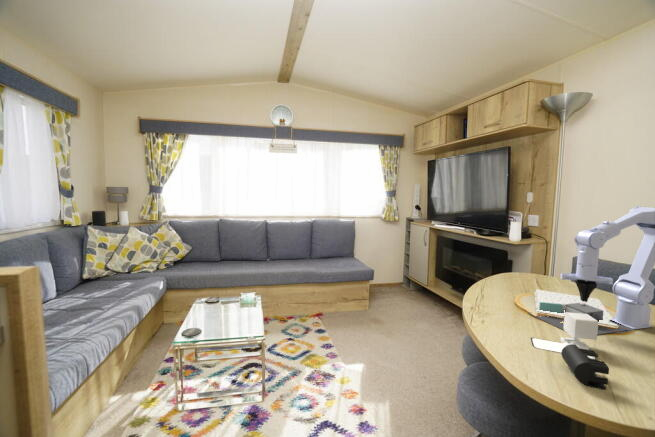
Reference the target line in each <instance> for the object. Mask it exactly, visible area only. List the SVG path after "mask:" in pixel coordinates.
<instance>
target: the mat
mask: <svg viewBox="0 0 655 437" xmlns="http://www.w3.org/2000/svg"><path fill="white" fill-rule="evenodd" d="M530 313H531V312H527V314H528V315H530V316H532V317H535V319H537V320H541V321H543V322H545V323H547V324H549V325H551V326H553V327H555V328H557V329H559V330H562V331H564V329H563V326H564V324H563V323H560V322H562V321H563V322H564V319H561V318H557V317H551V316H549V317H547V316H541V317H540V316H534V315H532V314H530ZM619 325H620V324H619ZM625 330H630V331H632V329H631V328H628V327H626V326H623V325H620V326H619V327H618V328H617V329H610V328H607V327H602V326H598V332H597V336H600V335H607V334H613V333H612V332H616V333H620V332H619V331H623V332H626V331H625ZM564 332H565V331H564Z"/></svg>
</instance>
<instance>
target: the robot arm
mask: <svg viewBox="0 0 655 437" xmlns="http://www.w3.org/2000/svg"><path fill="white" fill-rule="evenodd" d="M633 226H636V227H637V228H638V229H639V230H641V231H642V232H643V234H644V235H643V238H642V241H641V242H640V244H639V247H638V250H637V252H636V254H635V256H634V258H633V260H632V264H631V266H630V268H629V271H628V273H624V274H621V275H620V276H619V277H618V279H617V280H616V281H615V282H614V279H613V278H612V277H608V276H607V277H605V276H600V275H598V268H599V256H600V249H602V248H603V247H604V246H605V244H606V243H607V242H608V241H610V240H612V239H613V238H616V237H617V236H619V235H621V231H622V230H624V229H627V228H629V227H633ZM574 242H575V244H576V249H577V259H576V260H577V261H576V270H575V273H563V272H561V273H560V279H561V280H563V281H564V280H565V281H566V280H568V281H574V283H575V285H576V287H577V289H578V293H579V298H580V301H582V302H583V303H587V302H588V300H589V298H590V296H591V294H592V293H593V291H594V290H595V289H596V288H598V284H606V285H611V286H612V292H613V294H614V295H615V299H617V302H616V304H617V305H616V311H615V317H614V318H612V319H613V320H614V321H615V322H617V323H616V324H618V323H619V324H618V325H620V324H621V326H623V327H626V328H629V329H631V330H639V329H645V328H652V327H653V326H652V324H650V319H651V311H652V310H651V305H649V304H650V303H651V302H652V301H653V299H654V296H655V295H654V291H655V285H654V284H653V283H652V281H651V280H650V279H649V277H650V276H651V273H652V271H653V268H654V266H655V207H652V206H651V207H647V206H638V205H637V206H635V207H633V208H631V209H629V211H628V213H626V214H624V215H622V216H621V217H619V218H618V219H616V220H614V221H610V220H603V221H602V222H601V223H600V224H598V225H595V226H593V227H591V228H590V229H588V230H580V231H579V232H578V233H576V235H575V237H574ZM597 283H598V284H597ZM615 322H614V323H615Z"/></svg>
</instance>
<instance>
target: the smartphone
mask: <svg viewBox="0 0 655 437" xmlns="http://www.w3.org/2000/svg"><path fill="white" fill-rule="evenodd" d="M530 342H531V344H532V347H533V348H535V349H537V350H543V351H547V352H553V353H556V354H557V353H558V354H561V352H562V349H563V348H564V347H565V346H566V345H564V344H563V343H562V342H559V341H553V340H547V339H542V338H537V337H536V338H535V337H530ZM589 350H592V349H591V348H589ZM588 357H589V358H591V359H594V360H598V357H594V356H593V357H592V356H588Z"/></svg>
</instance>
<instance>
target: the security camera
mask: <svg viewBox="0 0 655 437" xmlns="http://www.w3.org/2000/svg"><path fill="white" fill-rule="evenodd" d="M563 329H564V332H565V333H566V334H568V335H569V336H570V337H567V336H565V337H563V336H560V343H563V344H564V345H566V346H567V345H570V344H575V345H576V346H577V347H578V348H579V349H586V350H589V349H590V346H588V345H587V344H586V343H585V342H584V341H582V340H581V339H584V340H585V339H586V340H593V341H596V340H597V339H598V335H597V332H598V321H597V320H596V319H594V318H592V317H591V316H589V315H588V314H582V313H569V312H565V316H564V326H563Z"/></svg>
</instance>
